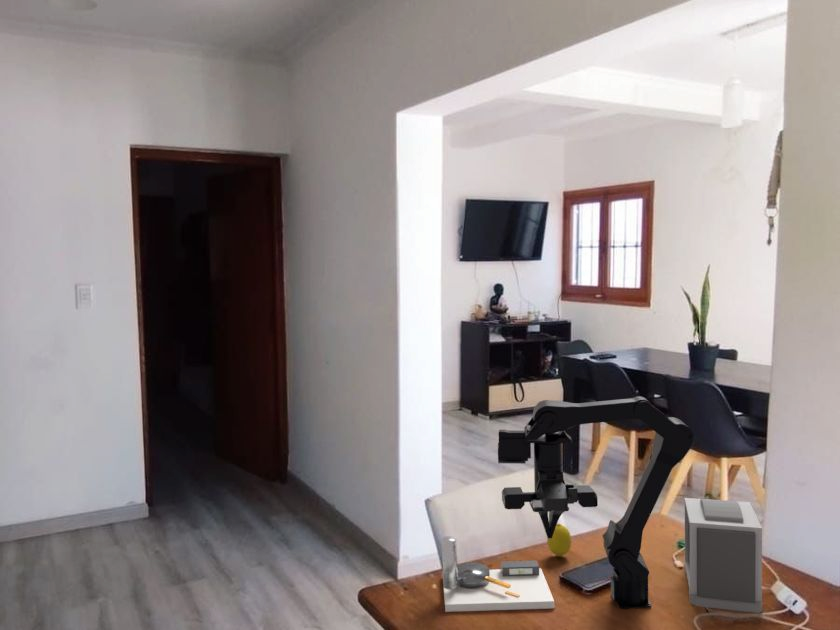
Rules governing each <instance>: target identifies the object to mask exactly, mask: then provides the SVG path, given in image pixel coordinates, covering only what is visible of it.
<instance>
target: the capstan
mask: <svg viewBox="0 0 840 630" xmlns="http://www.w3.org/2000/svg"><path fill="white" fill-rule="evenodd" d="M441 551H442V553H441V554H442V556H441V557H442V587H443V589H444V588H446V589H455V588H457V587H458V586H461V587H465V588H478V587H482V586H485V585H486V584H488V583H489V582H491V583H494V584H497V585H499V586H502V587H505V588H508V589H509V588H510V587H511V584H508V583H505V582H502V581H499V580H496V579H493V578H491V577H490V572H489V570H490V568H489V567H488V566H487V565H485V564H484V563H480V562H475V561H473V562H472V561H471V562H470V561H469V562H461V563H459V564H458V554H457V552H458V550H457V537H454V536H452V535H451V536H449V535H448V536H444V537H442V538H441Z"/></svg>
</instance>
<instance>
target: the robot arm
mask: <svg viewBox="0 0 840 630" xmlns="http://www.w3.org/2000/svg"><path fill="white" fill-rule="evenodd" d="M631 420H640V421H641V422H643V423H644V424H646V425H647V426H648V427H649V428H651V429H652V430H653V431H654V432H655V434H654V438H653V440H652V441H653V443H652V452H651V456H650V459H649V461H648V464H646V465H647V466H646V468H645V470H644V472H643V474H642V476H641V478H640V480H639V483H638V484H637V487H636V489H635V491H634V493H633V496H632V497H631V500H630V502H629V504H628V506H627V508H626V510H625V513H624V515H623V516H622V517H621V518H620V519H619V520H618V521H617V522H615V521H614V520H612V519H611V520H609V523H608V526H607V529H606V531H605V532H604V533H603V534H602V538H603V548H604V551H605V555H606V557H607V559H608V562H609V564H610V565H611V566H612V576H610V596H611V598H612V599H613V601H614V602H615V604H616V606H617V607H618V608H620V609H647V608H652V604H651V602H650V601H649V575H650V571H649V569H648V566H647V564H646V562H645V560H644V558H643V555H642V553H641V550H642V549H641V548H642V541H643V534H644V533H643V532H644V529H645V527H646V525H647V523H648V521H649V519H650V516H651V515H652V512H653V510H654V508H655V506H656V504H657V501H658V499H659V497H660V495H661V493H662V491H663V490H664V489H663V488H664V487H665V485H666V483H667V481H668V479H669V476H670V474H671V472H672V470H673V469H674V468H675V466H677V465H678V464H679V463H680V462H681V461H683V459H684V458H685V457H686V455H687V454H688V453H689V451H690V450H691V449H692V447H693V446H694V444H695V443H694V442H695V436H694V433H693V430H692V429H691V428H690V427H689V426H688V425H686V424H685V422H684V421H682V420H681V419H679V418H677V417H673V416H667V415H666V414H665V413H663V412H662V411H661V410H659V409H658V408H657V407H656V406H654V405H653V404H652V403H651V402H650V401H649V400H647V398H646V397H643V396H639V395H638V396H634V397H630V398H620V399H611V400H601V401H587V402H579V403H576V402H575V403H574V402H570V401H564V400H563V401H562V400H552V399H551V400H550V399H549V400H548V399H545V400H541V401H538V403H537V404H535V406H534V408H533V410H532V417H531V418H530V420H529V421H528V422H527V423H526V425H525V426H524V428H523V430H508V429H499V430H498V442H497V459H498V460H497V462H498V463H497V464H521V465H522V464H524V465H525V464H526V462H529V459H532V448H531V445H532V444H533V458H534V459H533V464H534V465H533V469H534V470H533V472H534V473H533V474H534V475H533V477H534V479H533V480H534V491H531V492H530V491H527V492H523V490H522V486H521V487H520V486H516V487H514V486H513V487H511V486H510V487H509V486H508V487H504V488H502V490H501V501H502V505H503V506H504V509H506V510H521V509H523V507H524V506H525V503H529V505H530V508H531V510H532V511H533V512H534V513H538V515H539V517H540V520H541V523H542V526H543V529H544V531H545V535H546V537H548V538H552V536H553V533H554V531H555V528H556V525H557V524H558V522H559V520H560V517H561V515H563V513H565V512H569V511H570V508H569V507H570V506H569V505H571V504H572V505H574V503H577V502H578V505H579V506H581V507H582V508H596V507H598V495H597V493H596V491H595V490H594V489H593V488H592V487H591V486H590V485H587V484H585V485H583V484H582V485H581V484H580V485H579V484H578V485H577V484H576V483H570V484H569V483H566V482H565V480H564V472H563V471H564V468H563V444H572V443H573V440H572V437H571V436H570V435H569V434H568V433H567V432H566V431H567V430H569V429H571V428H574V427H576V426H579V425H580V426H581V425H586V424H587V425H588V424H596V423H597V424H599V423H607V422H608V423H609V422H618V421H619V422H620V421H631Z"/></svg>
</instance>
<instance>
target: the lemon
mask: <svg viewBox="0 0 840 630" xmlns="http://www.w3.org/2000/svg"><path fill="white" fill-rule="evenodd" d="M571 536H572V535H571V533H570V531H569V529H568V528H567V527H566V526H565V525H563V524H561V523H557V525H556V528H555V531H554V533H553V536H552V538H548V537H547V536H546V537H547V538H546V540H547V541H546V542H547V547H548V549H549V550H550V551H551V553H553V554H555V555H556V556H557V557H558V558H561V557H562V556H563V555H566V554H567V553H568V552H569V551H570V549H571V546H572V537H571Z"/></svg>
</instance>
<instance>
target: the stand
mask: <svg viewBox="0 0 840 630" xmlns="http://www.w3.org/2000/svg"><path fill="white" fill-rule="evenodd" d="M489 572H490V577H491V578H493V579H496V580H499V581H502V582H505V583H508V584H511V587H510V588H509V589H508V588H505V587H502V586H499V585H497V584H494V583H491V582H489V583H488V584H486V585H485V586H482V587H478V588H465V587H461V586H458V587H457V588H455V589H446V588H444V587H443V597H444V609H445V613H446V612H450V613H451V612H478V611H483V612H485V611H509V610H510V611H512V610H514V611H516V610H542V609H546V610H547V609H555V600H554V597H553V595H552V592H551V590H550V587H549V585H548V582H547V580H546V577H545V575H544V572H543V570H542V568H541V567H540V565H539V563H538V560H517V561H515V560H512V561H510V560H509V561H500V569H497V568H495V569H489Z"/></svg>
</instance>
